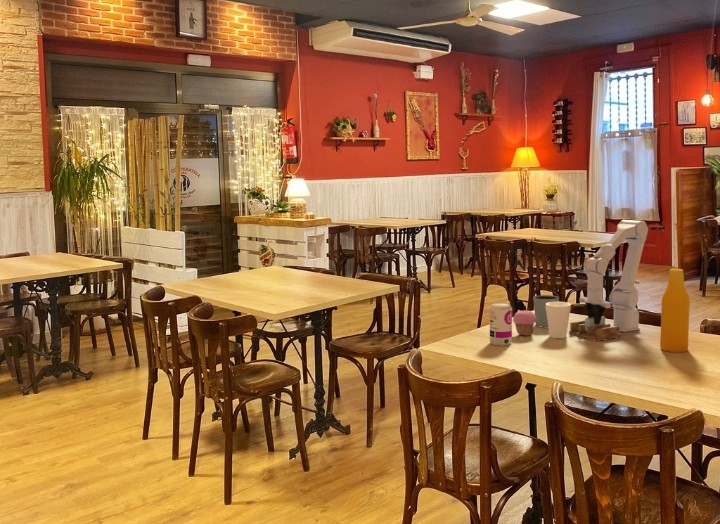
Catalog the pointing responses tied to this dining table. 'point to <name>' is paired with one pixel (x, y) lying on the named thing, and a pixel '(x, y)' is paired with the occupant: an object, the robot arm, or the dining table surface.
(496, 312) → the supplement can
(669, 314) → the beer bottle
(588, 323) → the grey-green rectangular block
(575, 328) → the rack
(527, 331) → the cupcake
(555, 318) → the foam cup
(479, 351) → the dining table surface
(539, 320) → the grey-green pot
